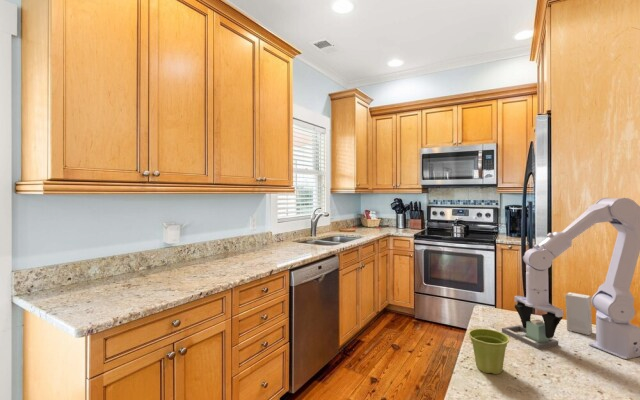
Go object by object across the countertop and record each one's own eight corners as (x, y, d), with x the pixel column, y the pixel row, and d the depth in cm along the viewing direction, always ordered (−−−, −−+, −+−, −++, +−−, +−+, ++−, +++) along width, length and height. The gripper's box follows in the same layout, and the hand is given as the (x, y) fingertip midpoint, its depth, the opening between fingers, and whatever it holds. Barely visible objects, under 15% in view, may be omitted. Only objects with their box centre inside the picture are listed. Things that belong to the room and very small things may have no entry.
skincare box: (592, 332, 106) (592, 295, 106) (589, 336, 103) (588, 298, 103) (569, 326, 111) (569, 291, 111) (565, 330, 108) (565, 294, 108)
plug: (548, 344, 98) (548, 322, 98) (538, 346, 97) (538, 324, 97) (536, 338, 102) (536, 317, 102) (526, 340, 101) (526, 319, 101)
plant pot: (494, 382, 79) (493, 346, 79) (461, 365, 87) (461, 332, 87) (517, 372, 83) (517, 338, 83) (484, 356, 91) (483, 326, 91)
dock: (558, 345, 98) (558, 340, 98) (538, 349, 95) (538, 344, 95) (520, 328, 110) (520, 324, 110) (501, 331, 108) (501, 327, 108)
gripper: (506, 283, 105) (507, 325, 106) (550, 296, 92) (550, 344, 92) (523, 281, 108) (524, 322, 108) (568, 293, 94) (569, 340, 94)
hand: (537, 332), depth 100 cm, fingers open, 7 cm apart
